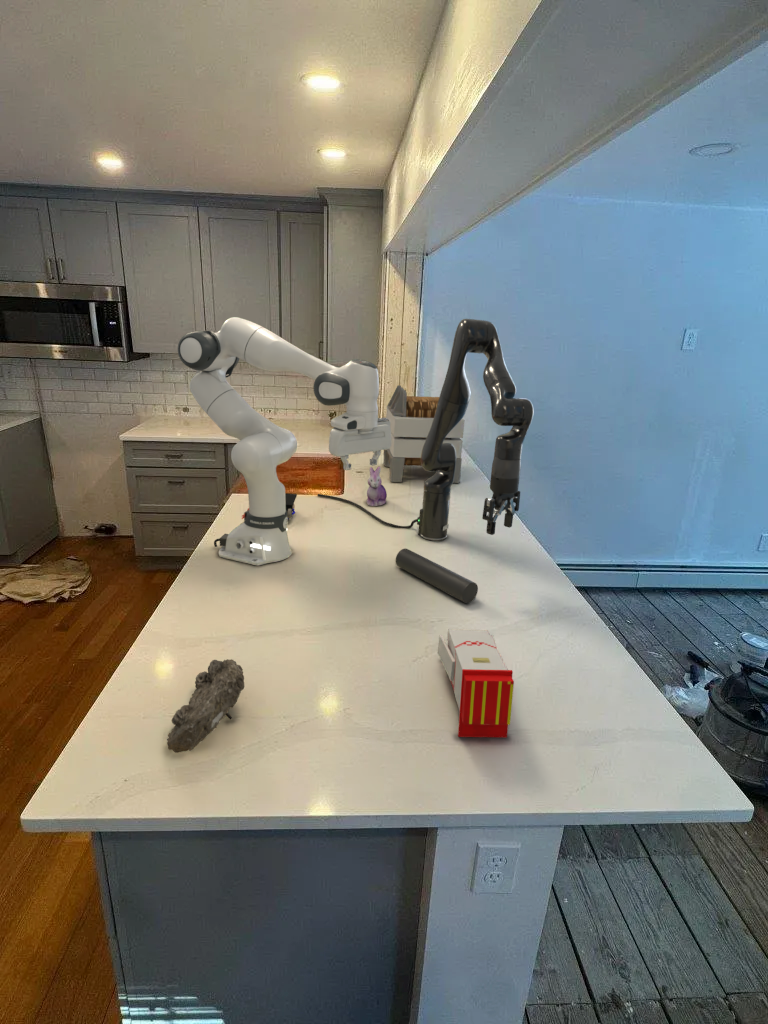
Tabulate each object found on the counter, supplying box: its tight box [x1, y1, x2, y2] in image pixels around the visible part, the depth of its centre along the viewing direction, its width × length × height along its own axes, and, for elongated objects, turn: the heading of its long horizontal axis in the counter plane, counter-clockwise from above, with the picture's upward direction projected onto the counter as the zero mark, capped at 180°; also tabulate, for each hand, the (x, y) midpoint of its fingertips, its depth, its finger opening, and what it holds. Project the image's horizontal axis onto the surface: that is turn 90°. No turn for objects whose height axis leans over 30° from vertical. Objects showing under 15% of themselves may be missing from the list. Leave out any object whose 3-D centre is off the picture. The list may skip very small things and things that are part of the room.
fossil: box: [166, 658, 245, 754], centre depth 106 cm, size 22×10×15 cm
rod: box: [395, 548, 479, 604], centre depth 164 cm, size 28×6×6 cm, turn 40°
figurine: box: [366, 466, 388, 507], centre depth 227 cm, size 9×10×15 cm
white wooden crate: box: [383, 384, 465, 484], centre depth 268 cm, size 34×33×41 cm
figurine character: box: [285, 492, 298, 523], centre depth 209 cm, size 7×8×15 cm
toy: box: [437, 628, 515, 738], centre depth 117 cm, size 12×13×30 cm
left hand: (360, 467), depth 164 cm, fingers open, 8 cm apart
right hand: (499, 530), depth 157 cm, fingers open, 8 cm apart
